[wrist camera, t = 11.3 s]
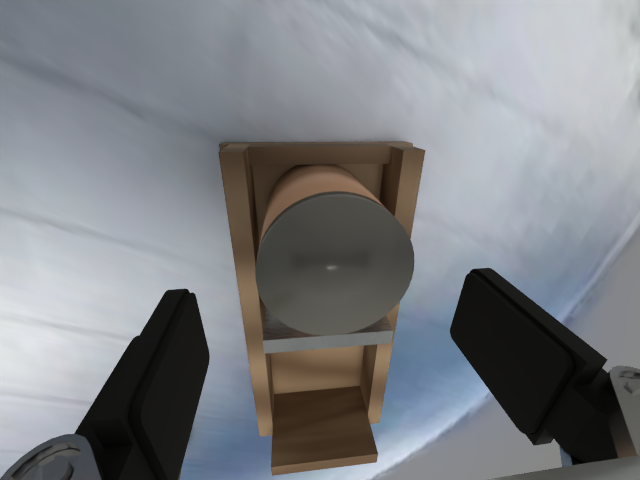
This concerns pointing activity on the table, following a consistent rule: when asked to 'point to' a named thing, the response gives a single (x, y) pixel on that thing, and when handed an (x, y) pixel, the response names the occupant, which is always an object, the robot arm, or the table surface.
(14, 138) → the table surface
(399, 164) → the wooden tray
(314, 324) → the jar
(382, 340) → the plate
